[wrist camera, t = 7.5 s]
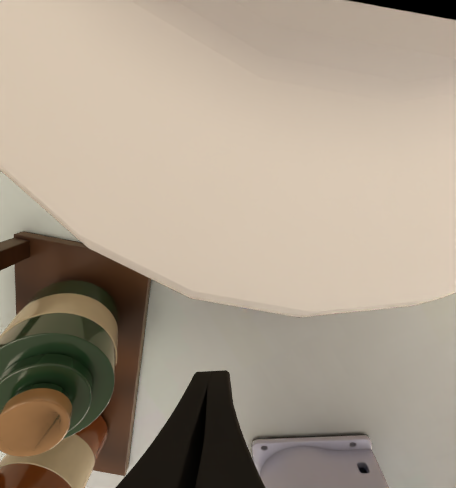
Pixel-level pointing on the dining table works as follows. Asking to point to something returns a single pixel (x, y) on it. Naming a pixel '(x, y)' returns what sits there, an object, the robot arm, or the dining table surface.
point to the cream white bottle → (243, 143)
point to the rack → (129, 320)
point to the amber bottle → (57, 462)
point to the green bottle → (56, 366)
